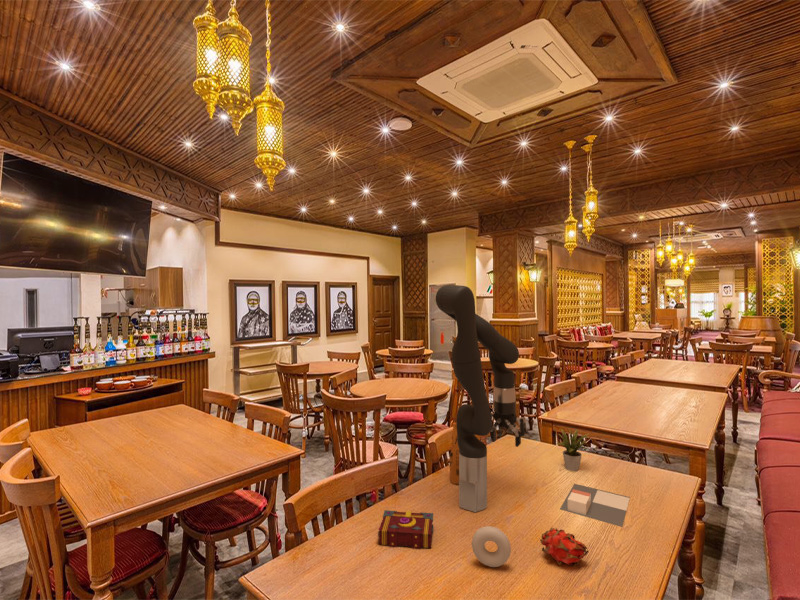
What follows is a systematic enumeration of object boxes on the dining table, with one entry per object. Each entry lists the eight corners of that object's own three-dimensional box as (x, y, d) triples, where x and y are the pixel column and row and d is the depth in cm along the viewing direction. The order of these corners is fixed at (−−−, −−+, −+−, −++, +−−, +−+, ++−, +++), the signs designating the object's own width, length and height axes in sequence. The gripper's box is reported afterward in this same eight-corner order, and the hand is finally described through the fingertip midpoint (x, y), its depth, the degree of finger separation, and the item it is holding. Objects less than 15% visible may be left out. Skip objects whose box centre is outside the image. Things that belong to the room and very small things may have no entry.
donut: (511, 564, 105) (510, 526, 105) (511, 573, 102) (511, 533, 102) (472, 558, 108) (472, 521, 107) (471, 566, 104) (470, 528, 104)
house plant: (595, 479, 153) (595, 437, 153) (556, 475, 158) (556, 433, 158) (590, 465, 167) (590, 425, 167) (554, 461, 171) (554, 422, 171)
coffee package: (450, 473, 160) (449, 418, 160) (482, 475, 157) (481, 419, 157) (448, 485, 150) (448, 426, 150) (482, 487, 148) (482, 427, 148)
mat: (622, 528, 121) (622, 526, 121) (559, 511, 131) (559, 508, 131) (630, 498, 139) (630, 496, 139) (574, 485, 149) (574, 483, 149)
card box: (586, 515, 127) (585, 503, 127) (567, 509, 131) (567, 498, 131) (590, 504, 134) (590, 493, 134) (573, 499, 137) (573, 488, 137)
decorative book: (431, 550, 111) (431, 532, 111) (374, 546, 113) (374, 528, 113) (433, 527, 123) (433, 511, 123) (381, 524, 125) (381, 508, 125)
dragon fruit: (536, 558, 110) (584, 575, 105) (538, 556, 103) (589, 574, 99) (541, 524, 114) (587, 539, 110) (543, 520, 107) (592, 536, 103)
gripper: (481, 398, 144) (482, 443, 145) (521, 404, 136) (522, 451, 137) (489, 393, 150) (490, 436, 151) (527, 398, 142) (528, 443, 143)
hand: (505, 443), depth 144 cm, fingers open, 8 cm apart
